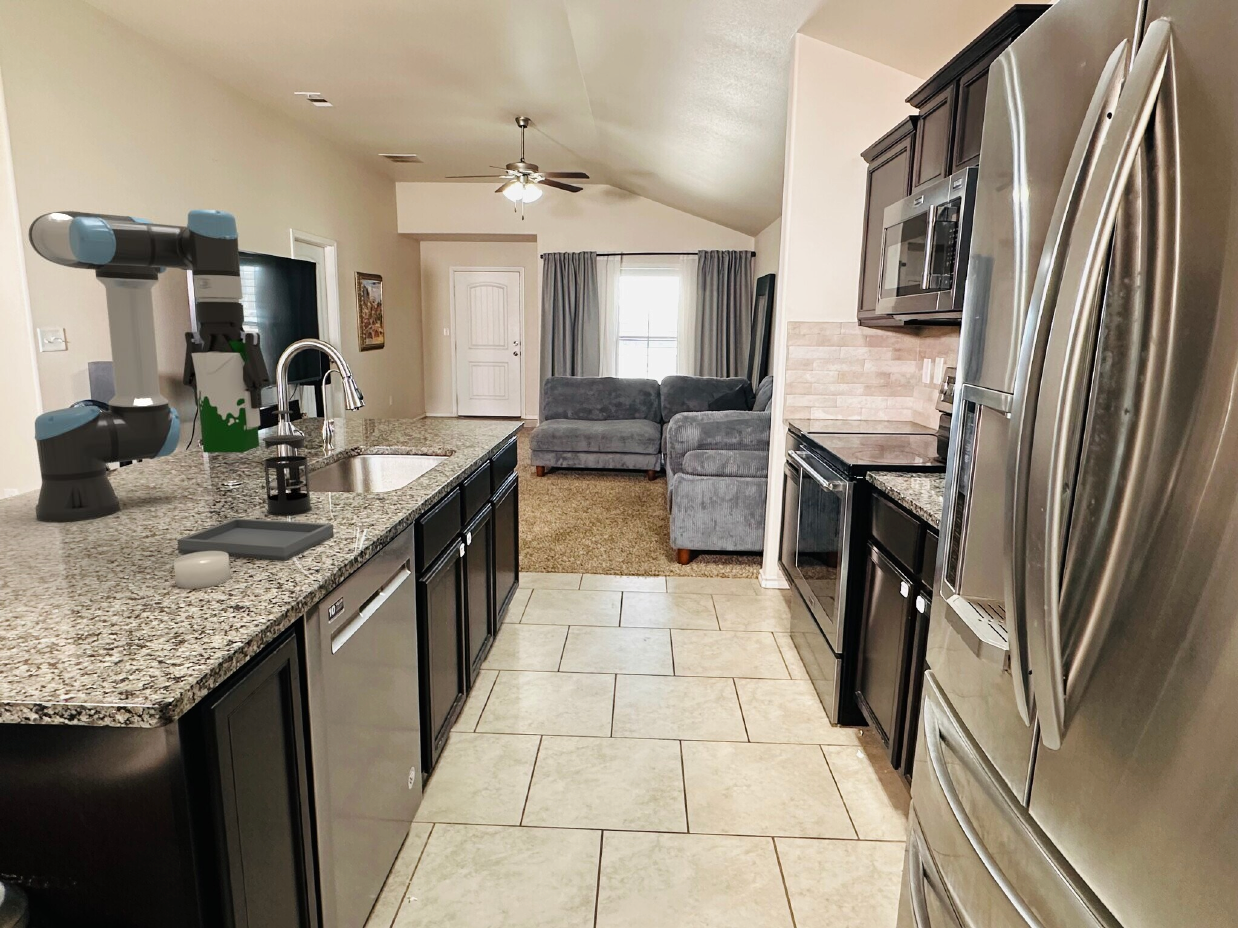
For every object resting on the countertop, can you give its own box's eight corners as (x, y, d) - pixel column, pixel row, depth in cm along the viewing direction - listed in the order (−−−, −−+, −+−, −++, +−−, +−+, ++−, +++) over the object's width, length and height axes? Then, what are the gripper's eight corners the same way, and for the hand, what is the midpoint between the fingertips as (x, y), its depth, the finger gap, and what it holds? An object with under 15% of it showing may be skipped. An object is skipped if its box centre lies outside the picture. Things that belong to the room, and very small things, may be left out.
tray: (178, 552, 138) (177, 539, 138) (236, 529, 154) (235, 517, 153) (285, 560, 135) (284, 547, 134) (333, 536, 150) (332, 524, 150)
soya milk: (246, 453, 134) (236, 341, 130) (194, 453, 133) (183, 341, 130) (266, 445, 142) (258, 340, 139) (218, 445, 142) (208, 340, 138)
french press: (304, 516, 165) (297, 413, 161) (259, 517, 164) (251, 413, 159) (318, 503, 176) (312, 407, 172) (277, 504, 175) (269, 407, 171)
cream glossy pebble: (164, 587, 121) (161, 563, 120) (199, 571, 129) (197, 549, 128) (207, 590, 120) (205, 567, 119) (241, 574, 127) (239, 552, 127)
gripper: (150, 300, 131) (163, 425, 136) (258, 300, 127) (269, 430, 131) (183, 301, 139) (194, 420, 143) (286, 301, 134) (295, 424, 139)
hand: (230, 425), depth 137 cm, fingers closed on soya milk, 9 cm apart
